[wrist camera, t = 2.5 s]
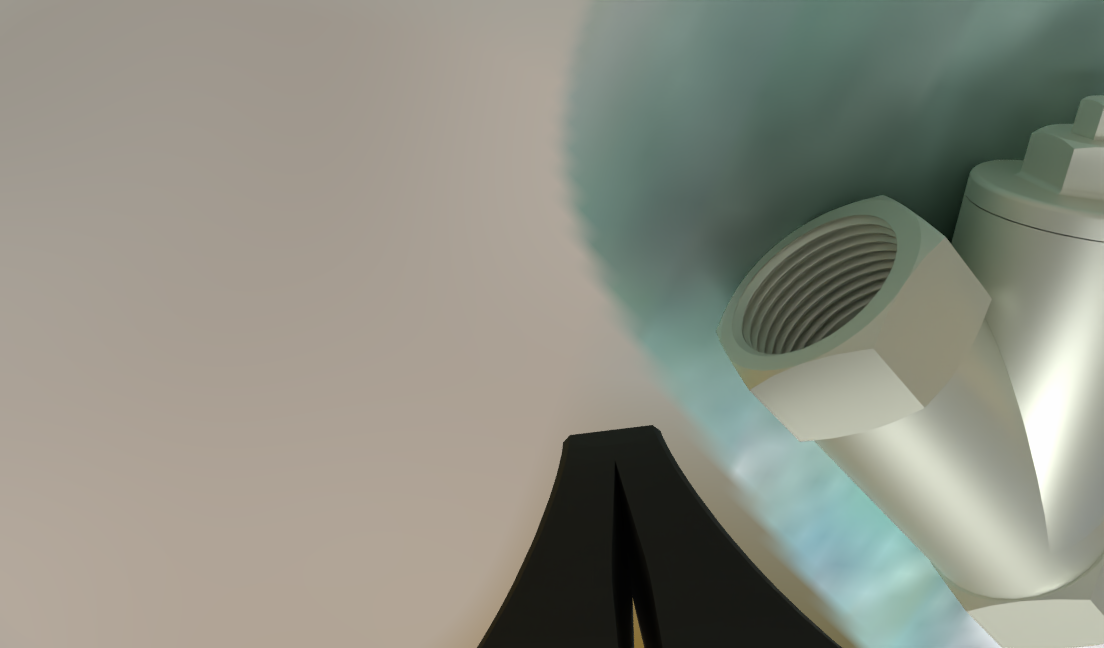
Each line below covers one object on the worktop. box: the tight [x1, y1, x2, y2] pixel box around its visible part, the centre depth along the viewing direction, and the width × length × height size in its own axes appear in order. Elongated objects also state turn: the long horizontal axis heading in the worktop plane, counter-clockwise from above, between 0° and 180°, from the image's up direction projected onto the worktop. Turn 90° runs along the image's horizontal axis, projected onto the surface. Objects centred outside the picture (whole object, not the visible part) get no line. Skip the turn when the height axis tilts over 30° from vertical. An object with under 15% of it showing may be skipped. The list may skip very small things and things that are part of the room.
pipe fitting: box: [716, 95, 1104, 648], centre depth 13 cm, size 8×4×7 cm
